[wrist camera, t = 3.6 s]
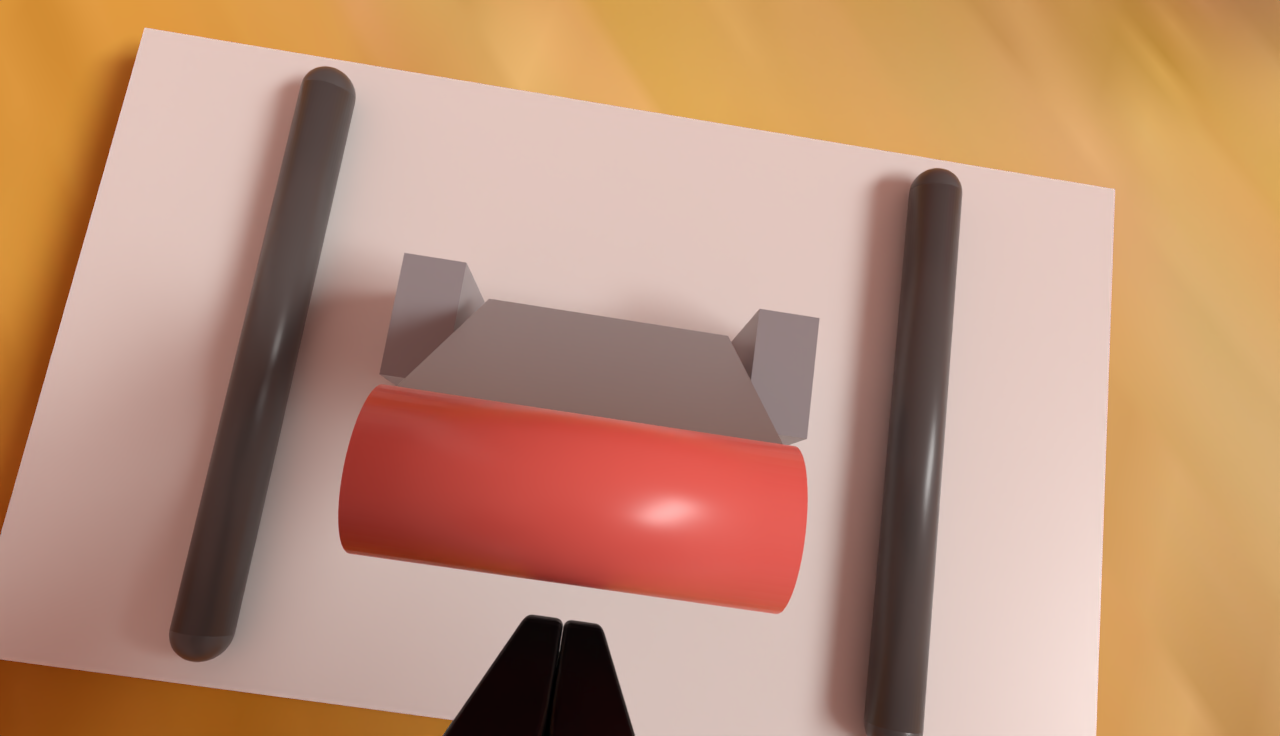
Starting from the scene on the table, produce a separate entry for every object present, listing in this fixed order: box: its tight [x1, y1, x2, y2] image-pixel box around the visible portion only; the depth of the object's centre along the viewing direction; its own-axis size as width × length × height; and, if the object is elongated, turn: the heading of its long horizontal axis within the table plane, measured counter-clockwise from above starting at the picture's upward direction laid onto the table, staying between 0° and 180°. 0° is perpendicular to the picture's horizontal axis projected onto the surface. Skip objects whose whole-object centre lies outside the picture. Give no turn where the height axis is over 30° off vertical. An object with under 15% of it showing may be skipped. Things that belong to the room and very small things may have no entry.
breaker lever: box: [338, 299, 808, 614], centre depth 11 cm, size 2×4×7 cm, turn 82°
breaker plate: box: [0, 28, 1115, 736], centre depth 15 cm, size 12×20×4 cm, turn 82°
